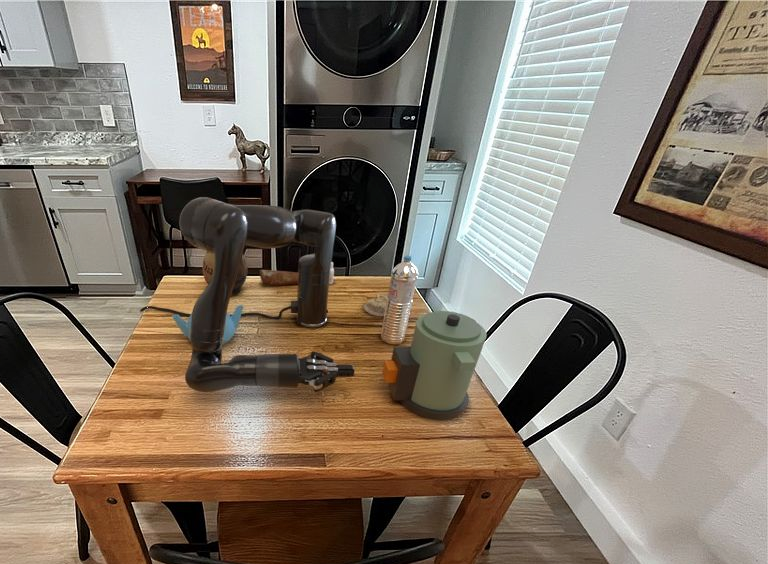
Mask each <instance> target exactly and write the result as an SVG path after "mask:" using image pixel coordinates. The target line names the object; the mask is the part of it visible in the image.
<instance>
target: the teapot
mask: <svg viewBox="0 0 768 564" xmlns="http://www.w3.org/2000/svg"><path fill="white" fill-rule="evenodd" d="M243 310H244V306H243V304H242V305H236V308H235V309H234V311H233V312H232V314H230V313H229V312H228V311H227V315H226V322H225V331H224V338H223V343H222V346H223V345H225V344H227V343H228V342H230V340H231V339H232V338H233V337H234V335H235V333H236V330H237V329H238V327H239V324H240V320H241V317H242V316H241V314H242V313H243ZM190 314H191V315H190V316H188V319H187V322H186V320H184V318H182V317H181V315H179V314H172V319H173V320H174V322H175V324H176V325H177V327H178V328H179V330H180V331H181V333H182V334H183V335H184V337H187V339H188V340H189V341H190V331H191V317H192V312H191V313H190ZM230 315H232V316H230Z"/></svg>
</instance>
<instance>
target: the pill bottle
mask: <svg viewBox="0 0 768 564" xmlns="http://www.w3.org/2000/svg"><path fill="white" fill-rule="evenodd" d="M334 277H335V269H334V262H333V261H331V265H330V278H329V285H333V283H334Z"/></svg>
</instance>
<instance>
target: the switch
mask: <svg viewBox="0 0 768 564" xmlns="http://www.w3.org/2000/svg"><path fill="white" fill-rule="evenodd" d="M381 374H382V376H383V379H384V381H385V383H386V384H388V383H396V378H397V374H398V368H397V365H396V363H395V361H391V360H384V363H383V368H382V373H381Z"/></svg>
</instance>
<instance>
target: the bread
mask: <svg viewBox="0 0 768 564" xmlns="http://www.w3.org/2000/svg"><path fill="white" fill-rule="evenodd" d="M259 277H260V280H261V282H262V285H265V286H286V285H298V271H297V272H296V271H295V272H294V271H285V270H273V269H259Z"/></svg>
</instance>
